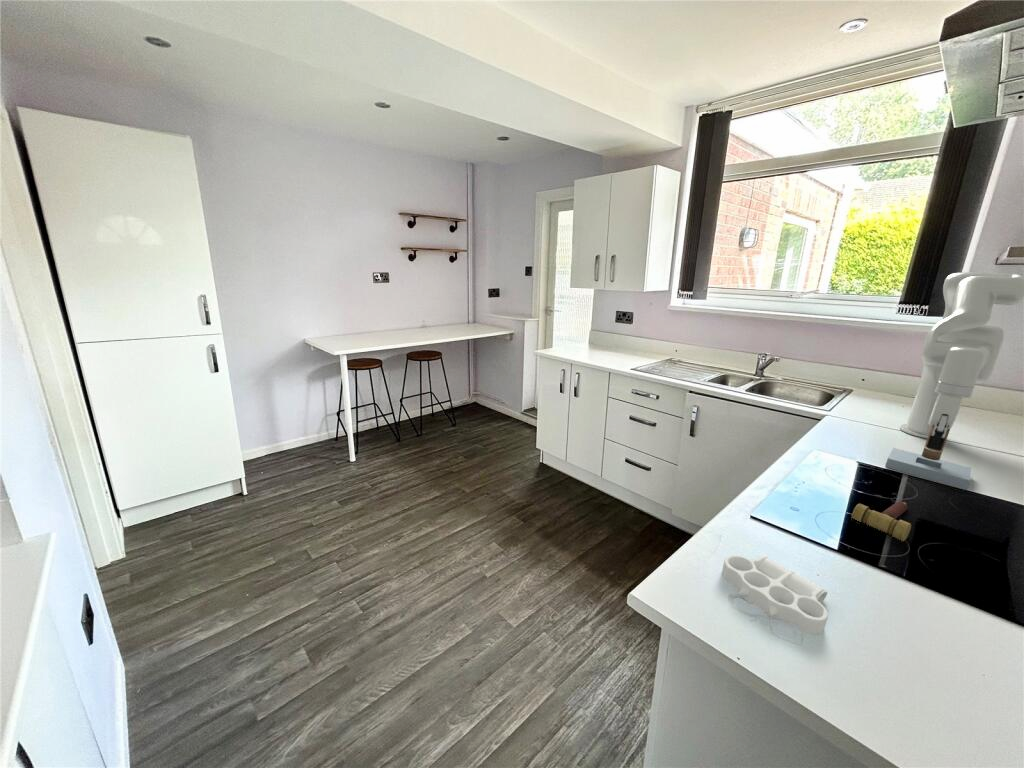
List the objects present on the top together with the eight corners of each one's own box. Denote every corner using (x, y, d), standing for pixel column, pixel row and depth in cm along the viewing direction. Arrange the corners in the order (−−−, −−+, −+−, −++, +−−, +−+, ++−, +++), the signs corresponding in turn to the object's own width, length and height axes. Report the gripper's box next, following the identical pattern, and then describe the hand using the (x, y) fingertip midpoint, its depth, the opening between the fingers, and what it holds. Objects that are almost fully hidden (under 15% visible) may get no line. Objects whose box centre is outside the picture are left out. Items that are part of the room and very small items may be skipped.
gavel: (883, 487, 115) (932, 505, 107) (878, 502, 116) (926, 521, 108) (854, 505, 104) (907, 526, 96) (849, 522, 105) (901, 544, 97)
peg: (922, 453, 132) (932, 423, 130) (940, 457, 130) (950, 427, 127) (920, 457, 130) (930, 426, 127) (939, 461, 127) (950, 431, 124)
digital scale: (890, 455, 141) (893, 447, 141) (967, 476, 129) (970, 467, 128) (885, 466, 134) (887, 458, 133) (966, 489, 121) (969, 480, 120)
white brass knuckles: (844, 612, 78) (805, 649, 70) (748, 555, 92) (707, 580, 84) (849, 597, 77) (810, 633, 69) (751, 542, 91) (710, 566, 83)
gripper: (938, 381, 132) (920, 436, 137) (934, 391, 121) (914, 450, 126) (972, 387, 126) (952, 443, 132) (971, 398, 115) (950, 458, 121)
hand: (934, 446), depth 129 cm, fingers closed on peg, 4 cm apart
